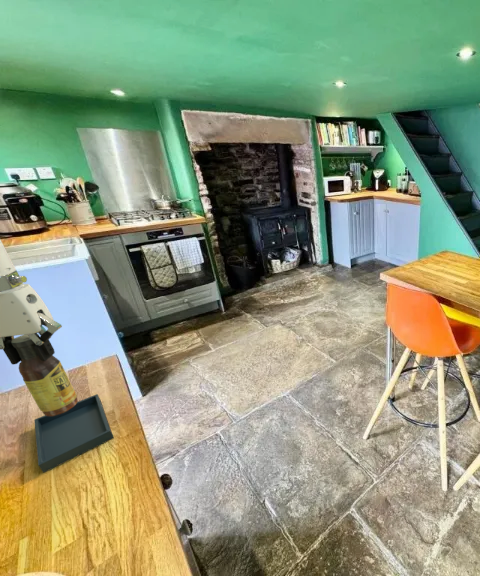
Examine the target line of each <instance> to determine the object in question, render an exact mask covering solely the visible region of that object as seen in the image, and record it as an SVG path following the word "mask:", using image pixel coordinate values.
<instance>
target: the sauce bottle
mask: <svg viewBox="0 0 480 576" xmlns="http://www.w3.org/2000/svg"><path fill="white" fill-rule="evenodd" d="M11 343H12V345H13V347H14V348H16V349H17V351H18V353H19V356H20V358H22V359H21V361H20V362H19V363H18V373H19V374H20V376H21V378H22V380H23V383H24V384H25V386H26V388H27V390H28V391H29V393H30V395H31V396H32V398H33V400H34V402H35V404H36V406H37V407H38V409H39V411H41V412H42V414H43V416H44V415H46V416H55V415H59V414H62V413H65V412H67V411H68V410H70V409H71V408H73V407H74V406H75V405H76V404H77V402H79V401H78V396H77V393H76V391H75V389H74V387H73V384H72V383H71V381H70V378H69V376H68V374H67V372H66V371H65V368H64V367H63V364H62V363H61V360H60V359H58V358H57V357H56V356H55V355H54V354H53V355H52V356H51V357H50V358H48V359H47V360H46V361H42V360H40V358H39V356H38V354H37V352H36V351H35V349H34V346H35V345H36V344H35V343H34V342H33V341H32V340H31V338H30V337H29V336H28V335H27V334H26V335H18V336H17V337H14V339H13V340H12V341H11Z"/></svg>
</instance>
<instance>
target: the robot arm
mask: <svg viewBox="0 0 480 576" xmlns="http://www.w3.org/2000/svg"><path fill="white" fill-rule="evenodd" d="M27 281H28V279H27V277H26V276H25V275H20V274H19V272H18V270H17V268H16V267H15V265H14V263H13V261H12V259H11V256H10V255H9V252H8V251H7V249H6V248H5V245H4V243H3V241H2V239H0V350H2V351H3V352H4V354H5V356H6V357H7V359H8V360H9V362H10V364H11V365H17V364H19V363H20V362H21V359H22V358H20V356H19V353H18V351H17V349H16V348H14V347H13V345H12V343H11V341H12V340H13V339H14V338H15V336H22V335H26V334H27V335H28V336H29V337H30V338H31V340H32V341H33V342H34V343H35V344H36V345H35V346H34V349H35V351H36V352H37V354H38V356H39V358H40V360H42V361H46V360H47V359H48V358H50V357H51V356H52V355H53V356H54V355H55V352H56V351H55V349H54V346H53V345H52V343H51V341H50V339H51V338H52V336H53V335H54V334H55V333H56V332H57V331H58V330H60V329H61V328H62V327H63V325H62V324H61V323H59V322H58V321H56V320H54V317H53V315H52V313H51V311H50V309H49V308H48V307H47V305H46V303H45V302H44V300H43V299H42V297H41V296H40V295H39V294H38V293H37V292H36V290H35V288H34V287H32V286H31V285H30V284H29V283H27ZM45 327H46V328H47V329H46V328H45Z"/></svg>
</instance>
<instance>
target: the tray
mask: <svg viewBox="0 0 480 576" xmlns="http://www.w3.org/2000/svg"><path fill="white" fill-rule="evenodd" d="M34 431H35V443H36V454H37V465H38V467H39V469H40V470H41V472H42V473H46V472H47V471H50V470H52V469H54V468H57V467H58V466H60V465H63V464H64V463H66V462H68V461H70V460H72V459H74V458H76V457H78V456H81V455H82V454H84V453H87V452H88V451H90V450H92V449H95V448H96V447H98V446H101V445H102V444H104V443H107V442H108V441H110V440H112V439H114V438H115V437H114V434H113V431H112V428H111V426H110V423H109V420H108V417H107V415H106V412H105V409H104V406H103V404H102V400H101V398H100V395H99V394H98V393H97V394H94V395H91V396H89V397H86V398H84V399H82V400H79V401H78V402H77V404H76V405H75V406H74V407H73V408H71V409H70V410H68V411H67V412H65V413H62V414H59V415H55V416H46V415H44V414H43V416H39V417H37V418H35V419H34Z"/></svg>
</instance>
